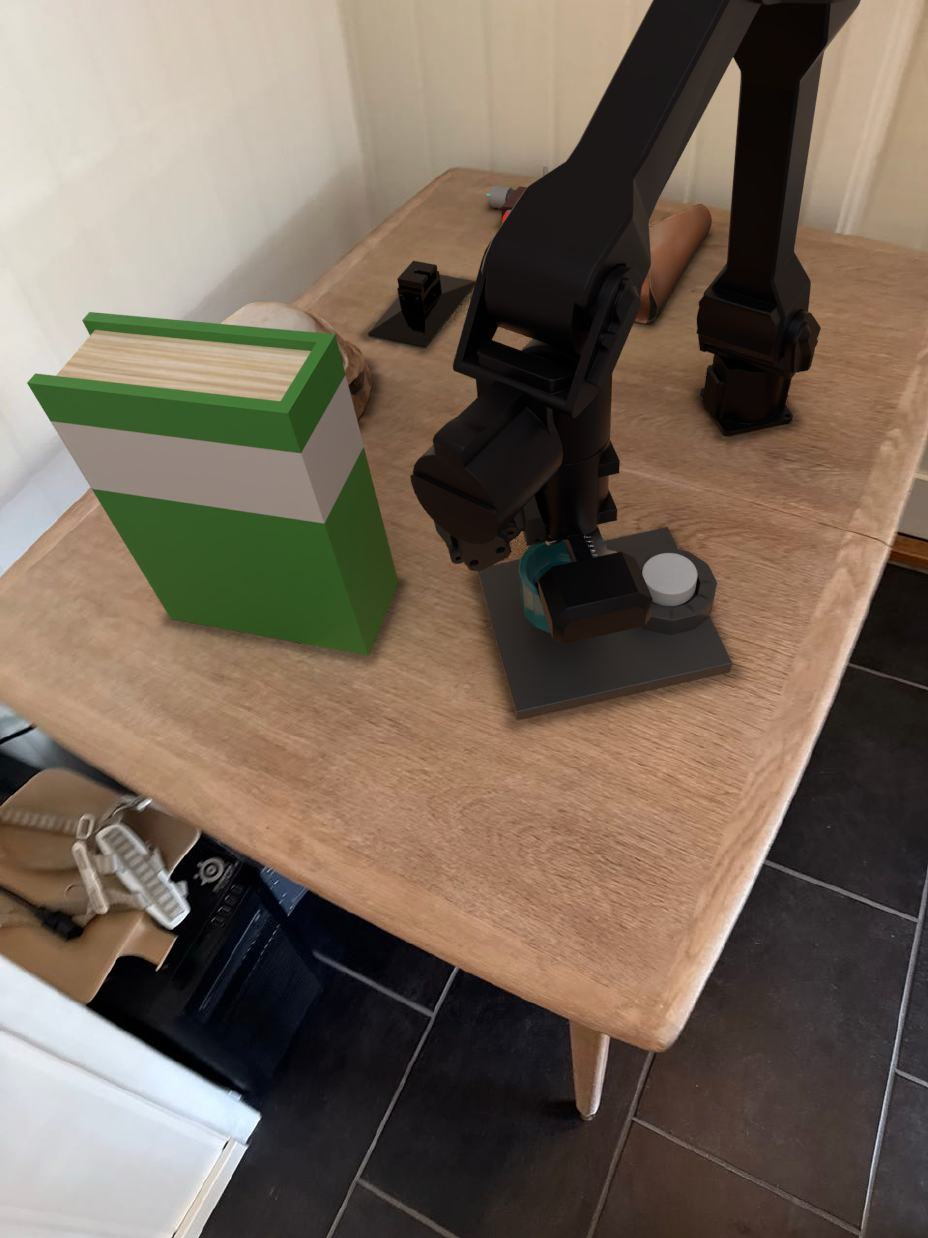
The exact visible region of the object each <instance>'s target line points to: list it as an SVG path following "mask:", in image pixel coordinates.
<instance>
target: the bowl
mask: <svg viewBox="0 0 928 1238" xmlns="http://www.w3.org/2000/svg"><path fill="white" fill-rule="evenodd" d="M586 542H587V540H586ZM527 547H528V548H526V550H525V551H524V552H523V554H522V555H521V557H520V559H521V560H520V564H519V569H518V570H519V582H520V594H521V605H522V608H523V611H524V614H525V616H526V618H527V619H528V620H529V621H530V622H531V623H532V624H533V625H534V626H535V627H537V628H539V629H541V630H543V631H545V632H548V633H550V634H551V632H550V629H549V626H548V623H547V620H546V617H545V614H544V611H543V608H542V604H541V601H540V598H539V595H538V592H537V589H536V586H535V583H536V582H538V579H539V578H540V577H542V576H543V575H544V574H545V573H546V572H547V571H548V570H549V569H550V568H551V567H554V566H558V565H563V564H567V563H572V562H571V559H570V557H569V554H568V551H567V549H566V546H565V543H564V541H563V540H562V542H560V543H558V544H555V545H547V544H546V542H543V543H539V544H534V545H530V546H527ZM588 548H589V545H588ZM589 550H590V549H589ZM591 555H592V554H591Z"/></svg>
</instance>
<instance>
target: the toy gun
mask: <svg viewBox="0 0 928 1238" xmlns="http://www.w3.org/2000/svg"><path fill="white" fill-rule="evenodd" d="M548 173H549V170H548V166H543V167H542V177H543V176H544V175H546V174H548ZM527 187H528V186H527ZM527 187H526V186H521V185H520V186H518V187H517V188H516V189H514V188H513V187H511V186H506V185H505V186H504V185H499V184H498V185H497V184H495V185H493V186H492V188H491V189H490V193H487V194H486V196H487V197H489V205H490V207H491V208H494V209H500V212H501V224H502V223H503V222H504V220H505V219H506V217H507V216H508V214H509V213H510V211H511V210H512V208H513V207H514V205H515V204H516V202H517V201H518V199H519V198H520V196H521V195H522V193H523V192H524V190H525V189H526V188H527Z"/></svg>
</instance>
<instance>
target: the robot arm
mask: <svg viewBox="0 0 928 1238" xmlns="http://www.w3.org/2000/svg"><path fill="white" fill-rule="evenodd" d="M860 3H861V0H651V3H650V5H649V7H648V8H647V10H646V12H645V14H644V16H643V18H642V19H641V22H640V23H639V26H638V28H637V30H636V31H635V33H634V35H633V37H632V39H631V41H630V43H629V45H628V47H627V49H626V51H625V53H624V54H623V56H622V58H621V60H620V62H619V64H618V66H617V68H616V70H615V71H614V73H613V75H612V78H611V79H610V81H609V83H608V85H607V87H606V89H605V91H604V93H603V95H602V97H600V101H599V102H598V104H597V106H596V108H595V110H594V112H593V114H592V115H591V118H590V119H589V121H588V123H587V125H586V127H585V129H584V131H583V133H582V135H581V136H580V138H579V140H578V142H577V144H576V146H575V147H574V148H573V150H572V151H571V153H570V154H569V156H568V158H566V160H565V161H564V162H563V163H560V165H558V166H557V167H555V168H553V169H552V170H551V171H548V174H546V175H544V176H543V175H542V177H540V178H538V179H537V180H535V181H533V183H531V184H529V185H528V186H527V188H526V189H525V190H524V192H523V193H522V195H521V196H520V198H519V199H518V201H517V202H516V204H515V205H514V207H513V208H512V210H511V211H510V213H509V214H508V216H507V217H506V219H505V220H504V222H503V223H502V222H501V224H500V226H499V228H498V229H497V231H496V232H495V233H494V236H492V239H490V242H489V243H488V245H487V246H486V248H485V249H484V253H483V255H482V259H481V261H480V265H479V268H478V271H477V275H476V279H475V286H474V288H473V289H472V293H471V298H470V301H469V305H468V308H467V312H466V315H465V319H464V323H463V326H462V329H461V334H460V337H459V341H458V344H457V347H456V352H455V355H454V358H453V362H452V370H453V372H455V373H457V374H461V375H463V376H466V377H468V378H471V379H473V380H475V386H476V397H475V399H474V400H473V401H472V402H471V403H470V404H469V405H468V406H467V407H466V408H464V409H463V411H462V412H460V413H459V414H458V415H457V416H455V417H454V418H452V419H450V420H449V421H448V422H446V423H445V424H444V425H443V426H442V427H440V429H439V430H437V432H435V434H434V435H433V438H432V445H431V446H430V447H429V448H428V449H427V450H426V451H425V452H424V453H423V454H422V455H420V457H419V458H418V459H417V460H416V461H415V463H414V464H413V469H412V473H411V475H410V484H411V487H412V490H413V492H414V495H415V498H416V499H417V501H418V503H419V504H420V506H421V507H422V508H423V510H424V511H425V512H426V514H427V515H428V516H429V518H431V519H432V520H433V523H434V527H435V531H436V533H437V534H438V536H439V537H440V538H441V539H442V540H443V542H444V544H445V546H446V547H447V551H448V554H449V557H450V561H451V563H452V564H454V565H460V564H464V565H465V567H467V569H468V570H469V571H471V572H477V571H481V570H483V569H486V568H488V567H490V566H492V565H496V564H499V563H500V562H502V561H504V560H506V559H508V558H509V557H510V555H511V553H512V551H513V550H512V547H511V542H512V541H513V540H515V539H517V538H518V537H519V536H520V535H521V533H522V535H523V540H524V541H525V544H526V546H527V547H529V546H530V545H534V544H539V543H543V542H546V544H547V545H555V544H558V543H560V542H562V540H563V541H564V543H565V546H566V549H567V551H568V554H569V557H570V559H571V562H572V563H567V564H563V565H558V566H554V567H551V568H550V569H549V570H548V571H547V572H546V573H545V574H544V575H543V576H542V577H540V578H539V579H538V582H536V583H535V586H536V589H537V592H538V595H539V598H540V601H541V604H542V608H543V611H544V614H545V617H546V620H547V623H548V626H549V629H550V632H551V635H552V638H553V640H556V641H558V642H560V643H562V644H568V643H572V642H577V641H581V640H586V639H590V638H595V637H599V636H603V635H608V634H612V633H617V632H621V631H626V630H630V629H634V628H639V627H643V626H645V625H646V624H647V622H648V621H649V619H650V618H651V610H652V601H653V598H652V596H651V593H650V591H649V589H648V586H647V584H646V582H645V580H644V577H643V575H642V573H641V570H640V568H639V566H638V563H637V561H636V559H635V558H634V557H632V556H630V555H628V554H626V553H624V552H622V551H621V552H615V551H610V550H608V549H607V548H606V545H605V543H604V541H605V540H604V537H603V536H602V534H601V533H602V532H601V531H600V528H599V525H603V524H608V523H611V522H616V521H618V507H617V505H616V502H615V501H614V499H613V496H612V493H611V491H610V489H609V482H610V481H609V480H610V478H609V477H610V476H613V475H618V474H620V466H621V460H620V459H619V456H618V454H617V452H616V449H615V447H614V445H613V443H612V440H611V424H612V423H611V422H612V396H613V394H612V392H613V373H614V370H615V368H616V366H617V363H618V361H619V359H620V356H621V354H622V352H623V349H624V347H625V344H626V342H627V340H628V338H629V335H630V333H631V331H632V328H633V326H634V324H635V322H634V321H635V319H636V317H637V314H638V312H639V309H640V304H641V301H640V297H641V291H642V285H643V283H644V281H645V279H646V276H647V274H648V272H649V269H650V266H651V252H650V237H649V222H650V219H651V218H652V215H653V213H654V210H655V208H656V206H657V204H658V202H659V199H660V197H661V195H662V193H663V191H664V189H665V187H666V185H667V184H668V182H669V180H670V178H671V176H672V174H673V172H674V170H675V168H676V167H677V164H678V162H679V161H680V159H681V158H682V155H683V153H684V151H685V149H686V148H687V145H688V143H689V142H690V140H691V138H692V136H693V134H694V133H695V131H696V129H697V126H698V125H699V123H700V121H701V119H702V117H703V115H704V113H705V111H706V110H707V108H708V106H709V104H710V102H711V100H712V98H713V96H714V95H715V92H716V90H717V89H718V87H719V85H720V83H721V81H722V79H723V77H724V75H725V74H726V72H727V70H728V68H729V66H730V64H731V62H732V60H734V62H735V64H736V65H737V67H738V69H739V72H740V80H739V92H738V93H739V95H738V106H737V107H738V108H737V121H736V133H735V134H736V135H735V147H734V148H735V149H734V163H733V173H732V174H733V175H732V185H731V186H732V188H731V199H730V201H731V203H730V213H729V228H728V239H727V241H728V242H727V256H726V263H725V264H724V266H723V267H722V268H721V269H720V271H719V272H718V274H717V275H716V276H715V278H714V279H713V280H712V281H711V282H710V284H709V285H708V286H707V288H706V289H705V290H704V292H703V295H702V297H701V298H700V299H699V301H698V309H697V312H696V313H697V314H696V331H695V332H696V333H695V334H696V335H697V339H698V348H699V351H700V352H703V353H709V354H712V355H713V358H712V364H709V365H708V366H707V367H706V373H705V380H704V386H703V388H701V389H700V391H699V396H700V397H701V399H702V401H701V402H702V404H703V406H704V408H705V409H706V411H707V413H708V414H709V416H710V417H711V419H713V420H714V421H715V423H716V425H717V426H718V427H717V428H718V429H719V430H720V432H721V433H722V435H724V436H728V437H729V436H734V435H739V434H744V433H747V432H748V433H749V432H752V431H757V430H761V429H766V428H771V427H775V426H779V425H780V426H781V425H784V424H789V423H792V421H793V417H794V415H793V413H792V412H791V410H790V408H789V407H788V406H787V402H788V401H787V400H788V397H789V393H790V388H791V384H792V379H793V378H794V376H795V375H796V374H797V373H798V374H800V373H802V372H808V371H809V370H810V369H811V367H812V365H813V360H814V355H815V349H816V347H817V345H818V343H819V340H818V339H819V336H820V333H821V331H822V330H821V329H822V327H821V325H820V324H819V322H818V321H817V320H816V318H815V316H814V315H813V313H812V312H811V311H809V308H810V298H811V297H810V296H811V287H812V282H811V279H810V277H809V275H808V273H807V272H806V269H805V268H804V267H803V265H802V263H801V262H800V260H799V258H798V256H797V254H796V253H795V247H796V239H797V232H798V226H799V220H800V212H801V205H802V198H803V192H804V185H805V178H806V172H807V165H808V160H809V152H810V147H811V146H810V145H811V140H812V132H813V126H814V119H815V114H816V113H815V112H816V106H817V101H818V100H817V99H818V92H819V85H820V79H821V73H822V67H823V66H822V65H823V60H824V55H825V52H826V50H827V49H828V47H829V46H830V45H831V43H832V41H833V40H834V39H835V38H836V36H837V35H838V34H839V32H840V31H841V30H842V28H843V27H844V26H845V24H846V23H847V22H848V21H849V19H850V18H851V16H852V15H853V14H854V13H855V11H856V10H857V9H858V7H859V6H860ZM498 328H501V329H504V330H507V331H510V332H512V333H515V334H517V335H521V336H524V337H526V338H529V339H530V340H529V341H528V343H526V344H525V345H524V346H523V347H522V348H521V349H519V348H516V347H513V346H511V345H508V344H505V343H502V342H500V341H496V340H494V339H493V338H494V337H495V335H496V333H497V331H498ZM586 540H587V542H586ZM588 545H589V548H588ZM589 549H590V550H589ZM591 554H592V555H591Z"/></svg>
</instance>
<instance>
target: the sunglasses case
mask: <svg viewBox="0 0 928 1238" xmlns="http://www.w3.org/2000/svg"><path fill="white" fill-rule="evenodd" d="M712 223H713V217H712V213H711V211H710V209H709V208H708V207H707V206H706V205H704V204H703V203H698V204H695V205H692V206H689V207H687V208H685V209H683V210H680V211H678V212H676V213H674V214H672V215H667V216H664V217H662V218H658V219H654V220H649V237H650V252H651V266H650V269H649V272H648V274H647V276H646V279H645V281H644V283H643V285H642V291H641V297H640V301H641V304H640V309H639V312H638V314H637V317H636V319H635V321H634V323H635V324H636V323H637V324H642V325H647V324H650V323H652V322H654V321H655V320H656V319H658V318H659V316H660V315H661V313H662V312H663V311H664V308H665V306H666V304H668V302H669V299H670V298H671V295H672V294H673V292H674V290H675V289H676V287H677V285H678V283H679V282H680V281H681V278H682V277H683V275H684V273H685V272H686V270H687V268H688V266H689V264H690V263H691V261H692V260H693V258H694V257H695V255H696V253H697V252H698V250H699V248H700V247H701V245H702V243H703V242H704V241H705V239H706V238H707V237H708V236H707V235H708V234H709V232H710V230H711V228H712Z"/></svg>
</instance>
